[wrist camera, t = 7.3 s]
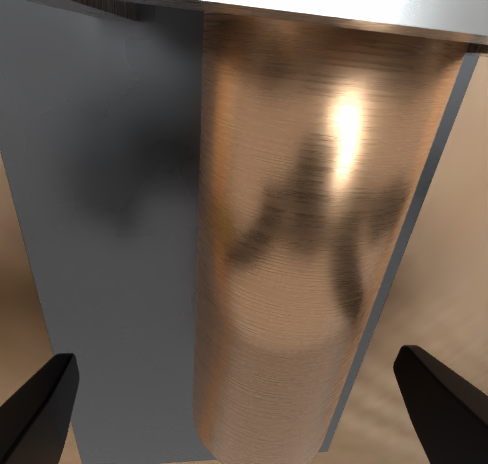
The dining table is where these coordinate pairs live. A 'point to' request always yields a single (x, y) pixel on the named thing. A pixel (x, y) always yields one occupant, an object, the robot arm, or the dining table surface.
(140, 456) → the plate
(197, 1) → the frame
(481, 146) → the dining table surface
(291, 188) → the tube
